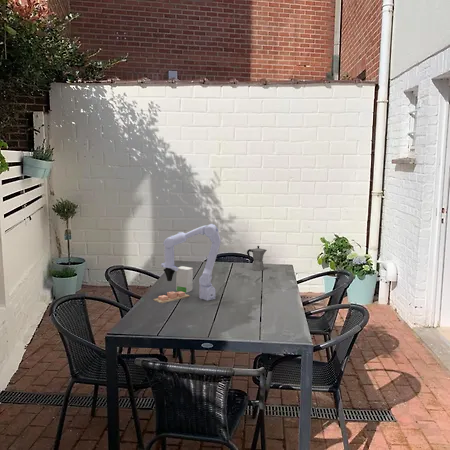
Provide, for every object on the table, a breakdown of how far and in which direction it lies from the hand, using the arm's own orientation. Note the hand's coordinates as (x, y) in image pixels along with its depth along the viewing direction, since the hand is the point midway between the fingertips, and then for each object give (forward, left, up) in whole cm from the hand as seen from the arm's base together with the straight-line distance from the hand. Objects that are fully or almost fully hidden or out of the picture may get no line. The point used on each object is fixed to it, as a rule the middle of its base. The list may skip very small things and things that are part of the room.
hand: (169, 280), depth 278 cm
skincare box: (+4, -14, -11) cm, 18 cm away
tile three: (-5, +8, -10) cm, 14 cm away
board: (-5, +2, -10) cm, 12 cm away
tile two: (-5, +2, -9) cm, 11 cm away
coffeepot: (+19, -93, -11) cm, 96 cm away
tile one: (-5, -4, -10) cm, 12 cm away
